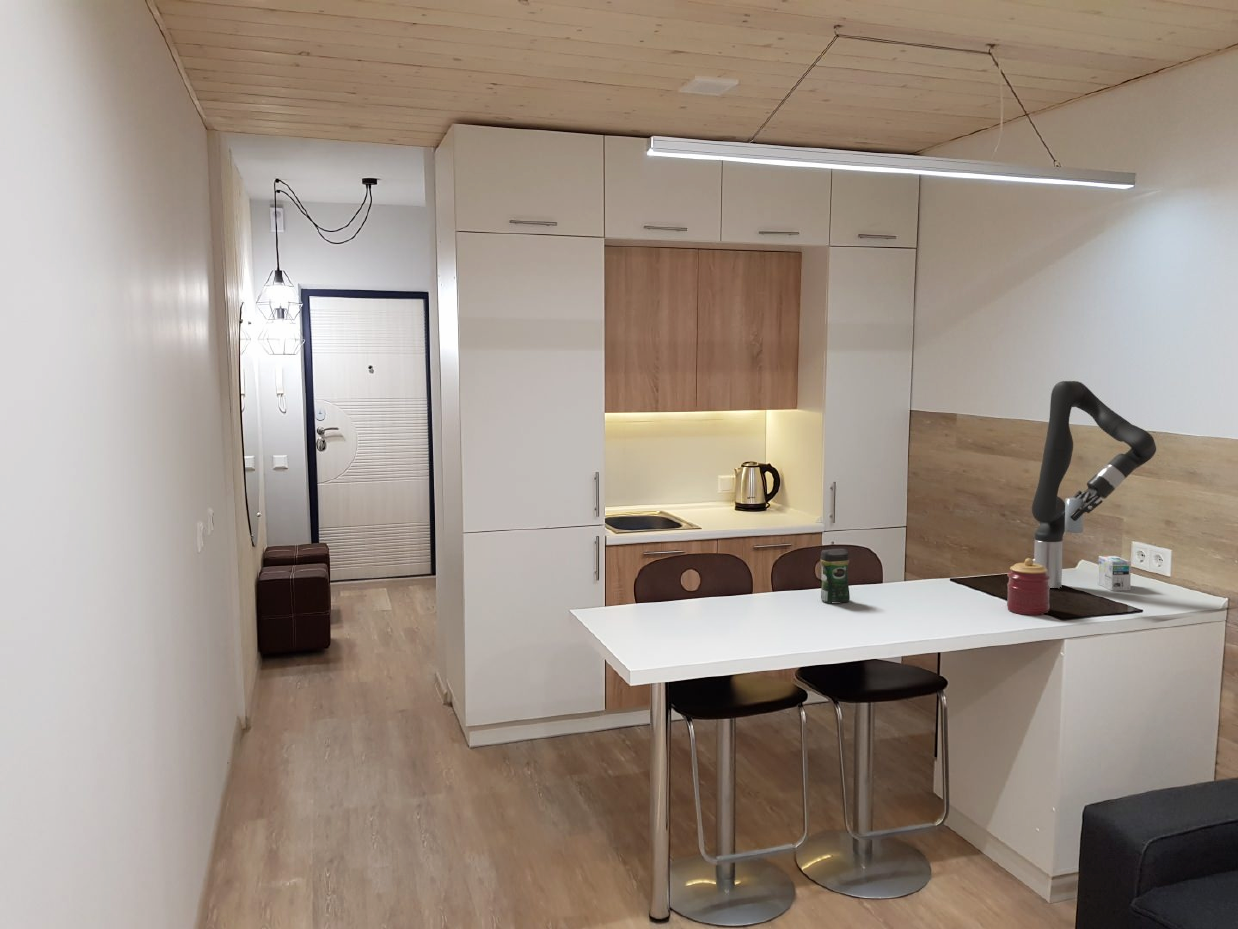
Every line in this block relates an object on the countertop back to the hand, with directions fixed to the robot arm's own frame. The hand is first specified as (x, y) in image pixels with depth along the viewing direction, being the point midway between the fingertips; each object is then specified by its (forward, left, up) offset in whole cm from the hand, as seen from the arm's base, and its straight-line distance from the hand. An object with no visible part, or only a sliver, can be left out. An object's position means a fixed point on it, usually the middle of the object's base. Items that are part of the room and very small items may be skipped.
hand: (1068, 517), depth 310 cm
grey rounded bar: (+1, +2, -5) cm, 5 cm away
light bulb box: (-11, +35, -30) cm, 48 cm away
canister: (-1, -16, -30) cm, 34 cm away
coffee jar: (-41, -64, -30) cm, 82 cm away
